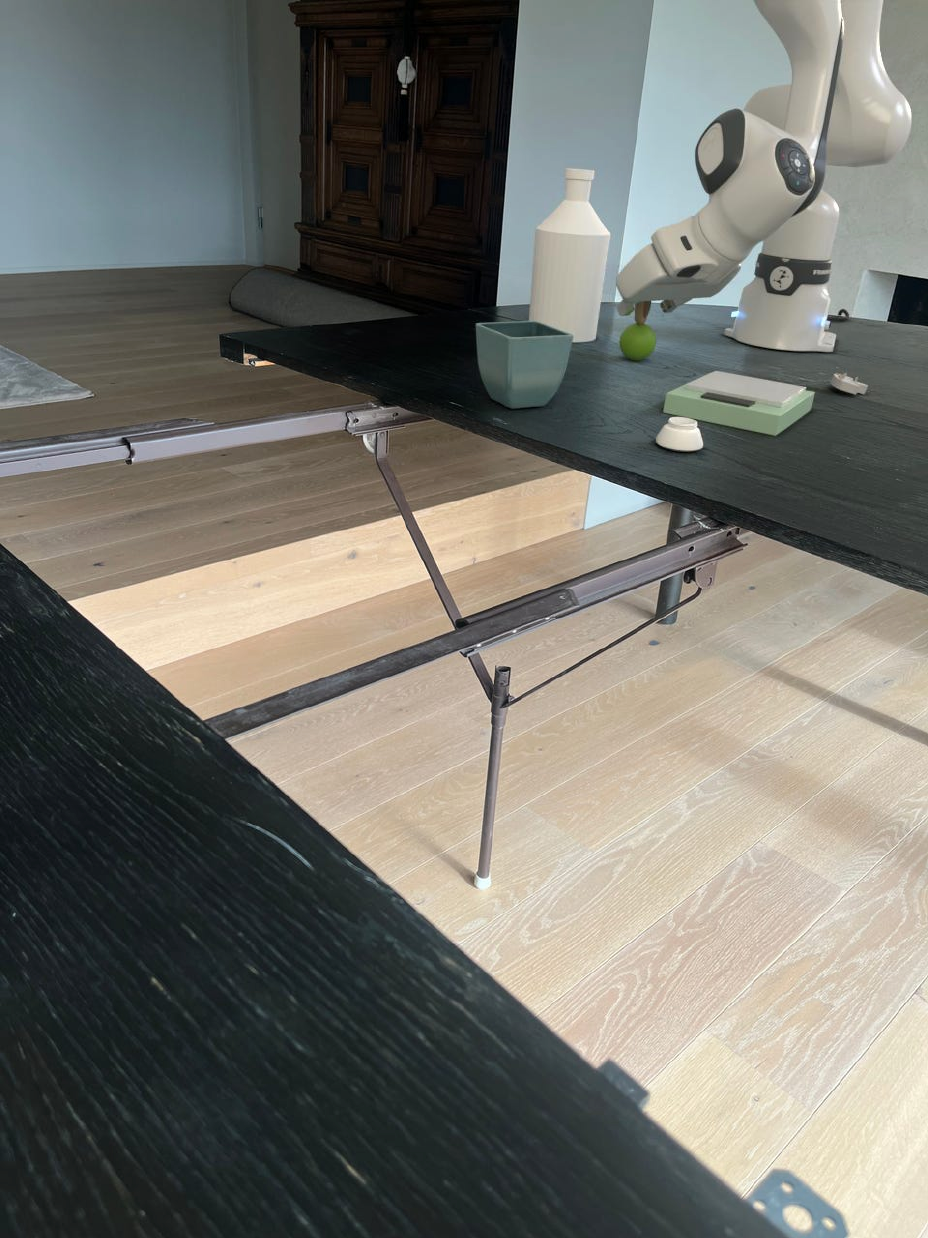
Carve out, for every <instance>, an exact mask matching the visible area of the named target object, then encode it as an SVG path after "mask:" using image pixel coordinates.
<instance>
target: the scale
mask: <svg viewBox="0 0 928 1238" xmlns="http://www.w3.org/2000/svg"><path fill="white" fill-rule="evenodd" d="M806 389H807V387H806V386H803V385H802V386H801V385H797V384H790V383H785V382H781V381H780V382H779V381H775V380H768V379H765V378H757V377H752V376H747V375H742V374H736V373H730V372H726V371H720V370H714V371H713V372H709V373H707V374H704V375H702V376H700V377H698V378H695V379H694V380H692V381H690V382H687V383H686V384H683V385H681V386H679V387H677V388H674V389H672V390H670V391H668V392H666V393H665V400H664V404H663V411H662V413H664V414H669V415H673V416H677V417H684V418H690V419H693V420H696V421H697V420H698V421H702V422H707V423H712V424H717V425H721V426H725V427H730V428H736V429H740V430H746V431H751V432H755V433H760V434H764V435H769V436H774V437H776V436H777V435H779V434H781V432H783V431H784V430H787V428H789V427H790V426H791V425H792V424H794V423H795V422H797V421H798V420H800V419H801V418H802V417H804V416H805V415H806V414H808V413H809V412H810V411H812V406H813V401H814V397H815V394H816V392H815V391H813V390H806Z"/></svg>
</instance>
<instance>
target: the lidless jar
mask: <svg viewBox="0 0 928 1238" xmlns="http://www.w3.org/2000/svg"><path fill="white" fill-rule="evenodd" d="M667 422H668V423H666V424H664V425H663V426H662V428H661V429H660V431H659V432H658V434H657V435H656V438H655V443H657V444H658V445H659V446H661V447H662V448H664V449H666V450H669V451H672V452H680V453H692V452H696V451H699V450H701V449H703V448H704V442H703V438H702V434H701V431H700V430H701V429H700V428H698V421H697V420H696V419H692V418H687V417H683V416H673V417H672V416H671V417H669V418H668V420H667Z"/></svg>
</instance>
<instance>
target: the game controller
mask: <svg viewBox="0 0 928 1238" xmlns="http://www.w3.org/2000/svg"><path fill="white" fill-rule="evenodd" d="M858 380H859V377H858V376H855V378H853V377H851V376H848V374H847V372H843V374H842V373H838V372H837V373H833V376H832V378H831V380H830V383H827V384H829V385H832V386H833V387H834V388H836V389H838V390H840V391H843V392H845V393H849V394H853V395H857V394H861V395H865V394H866V392H867V389H868V387H869V385H868V384H865V383H862V382H859V381H858ZM812 381H813V379H811V380H810V382H812ZM820 381H822V382H823V380H822V379H820ZM790 382H791V383H793V381H792V380H790ZM781 383H784V380H783V381H781ZM796 385H797V386H799V383H798V384H797V383H796ZM801 385H802V386H803V385H805V384H801Z"/></svg>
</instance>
